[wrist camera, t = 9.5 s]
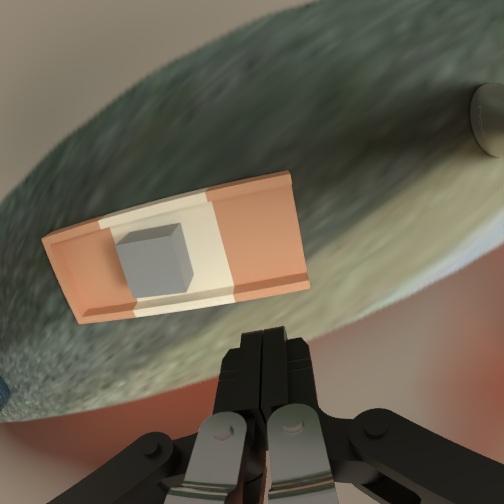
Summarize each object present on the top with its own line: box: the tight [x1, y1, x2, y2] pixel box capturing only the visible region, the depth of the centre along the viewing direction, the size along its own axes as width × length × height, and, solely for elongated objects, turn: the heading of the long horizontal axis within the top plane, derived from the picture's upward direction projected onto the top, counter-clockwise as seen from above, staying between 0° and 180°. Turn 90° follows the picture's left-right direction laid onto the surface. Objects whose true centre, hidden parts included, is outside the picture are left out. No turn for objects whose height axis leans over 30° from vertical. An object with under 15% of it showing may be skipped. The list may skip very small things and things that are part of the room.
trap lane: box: [41, 170, 310, 324], centre depth 33 cm, size 29×12×2 cm, turn 102°
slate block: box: [115, 222, 194, 299], centre depth 31 cm, size 6×6×4 cm
